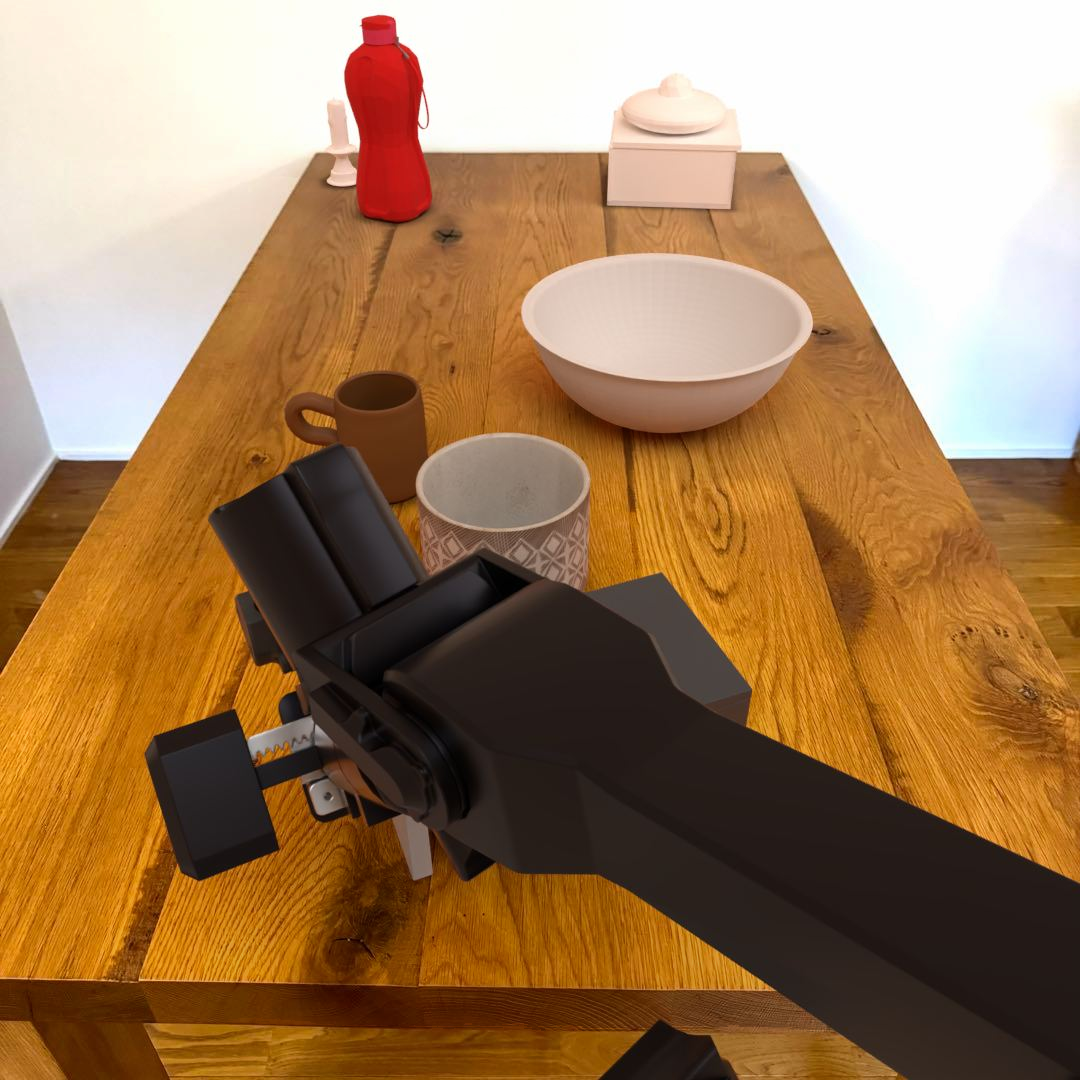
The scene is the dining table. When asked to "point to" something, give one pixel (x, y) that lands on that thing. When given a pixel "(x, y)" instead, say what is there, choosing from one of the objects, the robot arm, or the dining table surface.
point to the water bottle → (387, 123)
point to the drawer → (414, 845)
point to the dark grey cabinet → (681, 643)
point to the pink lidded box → (673, 149)
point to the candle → (340, 146)
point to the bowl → (665, 337)
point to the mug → (371, 426)
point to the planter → (507, 505)
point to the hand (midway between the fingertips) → (351, 734)
